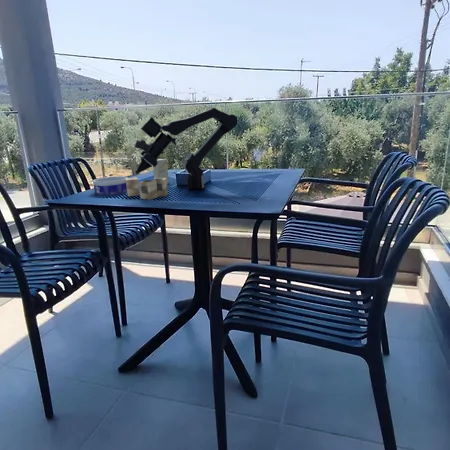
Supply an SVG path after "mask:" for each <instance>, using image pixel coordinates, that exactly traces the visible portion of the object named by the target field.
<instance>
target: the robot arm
mask: <svg viewBox="0 0 450 450" xmlns="http://www.w3.org/2000/svg"><path fill="white" fill-rule="evenodd" d="M211 119H214V120H216V121H217V122H218V125H217V126H216V129H215V130H214V131H213V133H211V135H209V137H208V138H207V139H206V140H205V141H204V143H202V145H201V146H200V147H199V148H198V149H197V150H196V151H195V152H194V153H191V152H189V153H188V155H187V156H186V157H185V158H183V162H182V167H183V169H184V170H185V171H187V173H188V175H187V178H186V180H187V190H203V189H204V188H205V185H204V184H205V183H204V182H205V181H204V170H203V169H202V168H201V167H200V166H201V165H202V162H203V161H204V158H205V157H206V156H207V155H208V154H209V152H210V151H211V150H212V149H213V148H214V147H215V146H216V144H218V143H219V141H220V140H221V139H222V137H224V135H226V134H227V133H229V132H230V131H232V130H233V129H234V128H236V127H237V125H238V118H237V116H236V115H235V114H228V113H227V112H223V111H221V110H219V109H217V108H216V107H211V108H208V109H207V110H205V111H202V112H199V113H196V114H195V115H192V116H190V117H187V118H183V119H182V118H181V119H177V120H173V121H169V122H168V123H167V124H166V125H165V124H162V125H160V124H159V122H157V121H156V120H155V119H154V118H153V117H152V116H151V117H150V118H149V119H148V120H147V121H146V122H144V124H143V125H142V126H141V128H140V130H141V131H142V132H143V133H145V134H146V135H147V136H148V138H150V139H152V138H154V141H153V142H150V143H146V140H144V139H141V140H139V139H136V141H135V143H134V148H136V149H140V150H142V151H141V152H140V153H139V154H140V162H139V164H138V166H137V168H136V170H135V174H136V175H138V174H140V173H142V172H144V171H145V170H148V169H150V168H153V166H154V167H155V166H156V165H157V164H158V163H157V160H158V159H159V157H160V156H161V155H163V154H164V151H165V150H166V149H167V148H168V146H169V145H170V144H171V143H172V144H173V145H176V144H177V143H176V142H177V141H176V139H177V138H176V137H172V136H178V135H181V134H182V133H183V132H185V131H186V130H187V129H189V128H191V127H193V126H195V125H198V124H201V123H203V122H205V121H208V120H211ZM164 132H166V134H165V133H164ZM171 135H172V136H171Z"/></svg>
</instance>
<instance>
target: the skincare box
mask: <svg viewBox="0 0 450 450" xmlns="http://www.w3.org/2000/svg"><path fill="white" fill-rule="evenodd" d="M157 159H158V160H157V163H158V164H157V165H156V166H155V167H154V166H153V165H152V173H153V179H155V178H167V185H168V184H170V179H169V168H168V159H167V158H157Z"/></svg>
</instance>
